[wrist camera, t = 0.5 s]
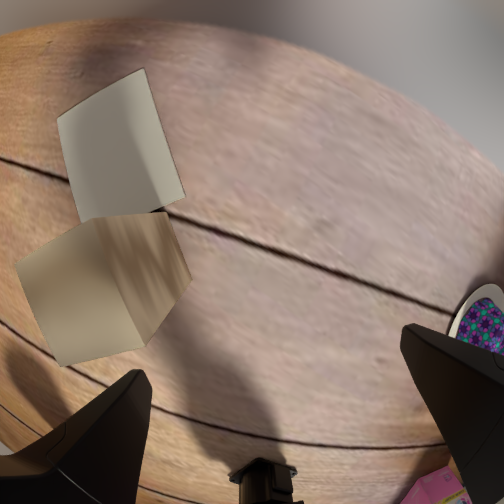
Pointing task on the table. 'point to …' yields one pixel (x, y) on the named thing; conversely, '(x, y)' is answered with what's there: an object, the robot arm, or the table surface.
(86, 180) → the mat
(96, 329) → the block
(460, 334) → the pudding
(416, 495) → the gum box
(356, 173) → the table surface
